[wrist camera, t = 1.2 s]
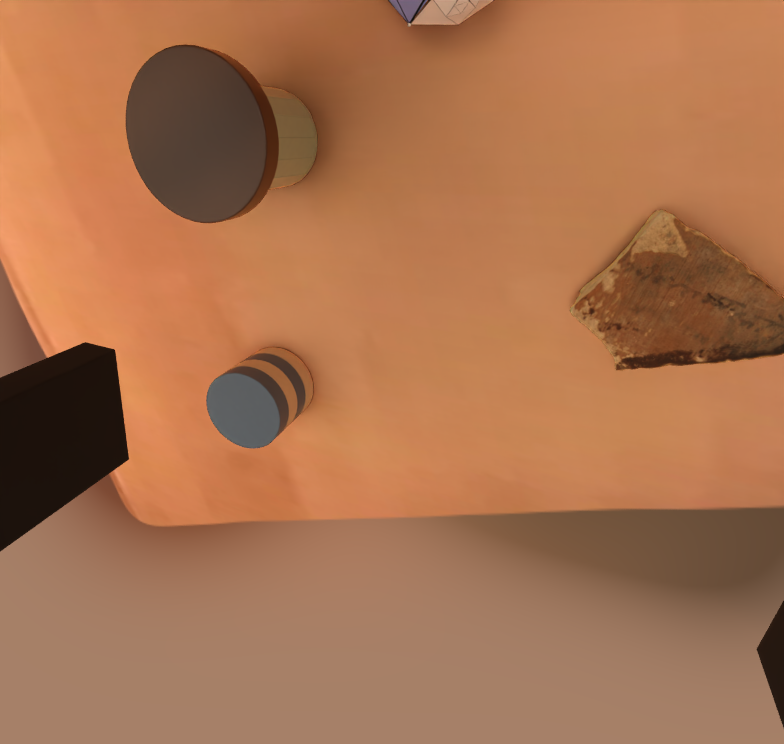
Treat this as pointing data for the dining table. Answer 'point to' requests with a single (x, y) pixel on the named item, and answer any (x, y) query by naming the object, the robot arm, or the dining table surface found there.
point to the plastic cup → (292, 137)
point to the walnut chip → (202, 133)
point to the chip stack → (259, 397)
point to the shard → (680, 302)
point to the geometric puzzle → (438, 11)
